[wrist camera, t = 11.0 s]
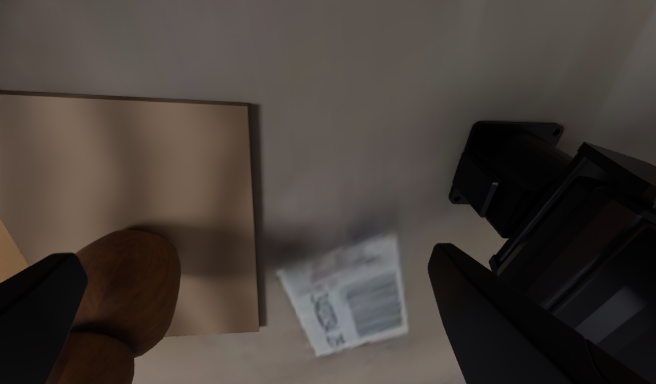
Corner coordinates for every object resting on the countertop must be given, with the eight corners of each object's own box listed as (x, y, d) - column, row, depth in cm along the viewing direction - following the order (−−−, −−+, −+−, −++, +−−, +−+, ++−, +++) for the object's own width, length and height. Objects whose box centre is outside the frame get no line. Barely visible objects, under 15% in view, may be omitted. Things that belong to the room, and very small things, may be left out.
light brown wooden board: (249, 98, 20) (247, 106, 18) (260, 317, 31) (259, 331, 30) (-51, 83, 17) (-77, 90, 16) (83, 326, 29) (74, 341, 28)
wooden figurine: (91, 268, 24) (-121, 585, 11) (89, 208, 21) (-197, 543, 8) (187, 281, 25) (97, 564, 13) (197, 228, 23) (94, 525, 10)
